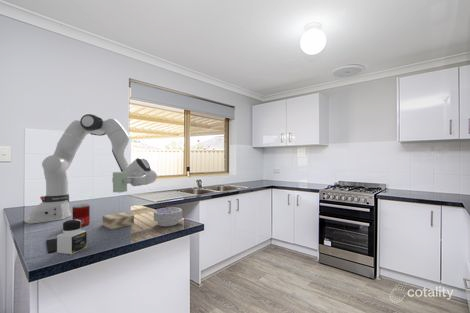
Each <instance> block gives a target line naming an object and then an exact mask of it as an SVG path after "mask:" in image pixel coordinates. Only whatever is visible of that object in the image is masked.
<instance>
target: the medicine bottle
mask: <svg viewBox="0 0 470 313" xmlns="http://www.w3.org/2000/svg"><path fill="white" fill-rule="evenodd" d="M87 236H88V234H87V230H82V227H81V221H80V220H77V219H75V220H73V219H69V220H66V221H64V222H63V223H62V233H59V234H57V235H56V238H57V252H56V253H57V254H62V255H64V254H65V255H74V254H75V253H78V252H81V251H83V250H85V249H87V246H88V245H87V244H88V243H87V240H88V239H87V238H88V237H87Z"/></svg>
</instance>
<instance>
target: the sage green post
mask: <svg viewBox="0 0 470 313" xmlns="http://www.w3.org/2000/svg"><path fill="white" fill-rule="evenodd" d="M112 178H113V182H112V193H125V192H128V183H122V180H124V179H127V172H121V171H114V172H112Z"/></svg>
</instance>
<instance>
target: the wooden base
mask: <svg viewBox="0 0 470 313" xmlns="http://www.w3.org/2000/svg"><path fill="white" fill-rule="evenodd" d="M134 215H135V214H131V213H129V212H126V211H125V212H124V211H123V212H118V213H112V214H105V215H102V226H104V227H106V228H108V229H110V230H114V229H119V228H120V229H121V228H124V227H128V226H133V225H135V216H134Z"/></svg>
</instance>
